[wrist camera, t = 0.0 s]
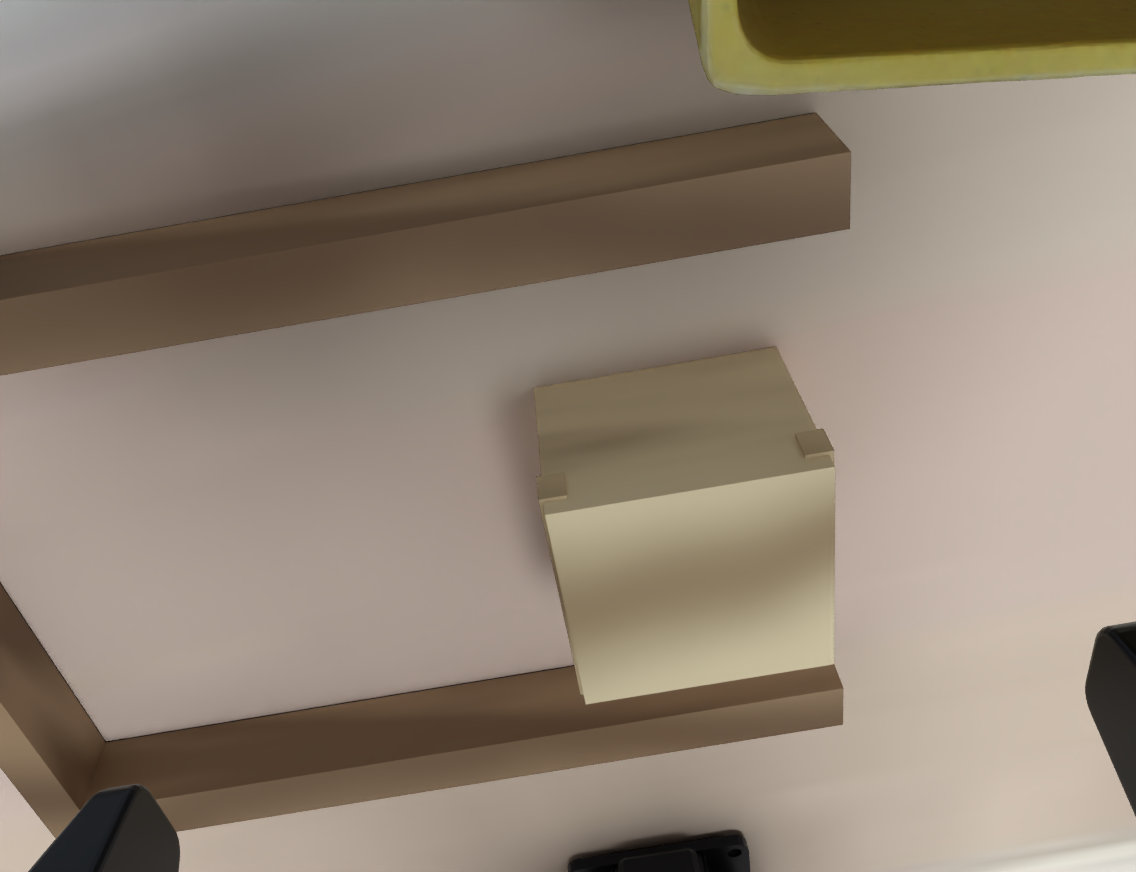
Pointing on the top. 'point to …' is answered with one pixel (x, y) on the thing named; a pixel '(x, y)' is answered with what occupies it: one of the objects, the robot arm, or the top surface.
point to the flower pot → (908, 42)
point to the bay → (369, 283)
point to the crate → (688, 524)
